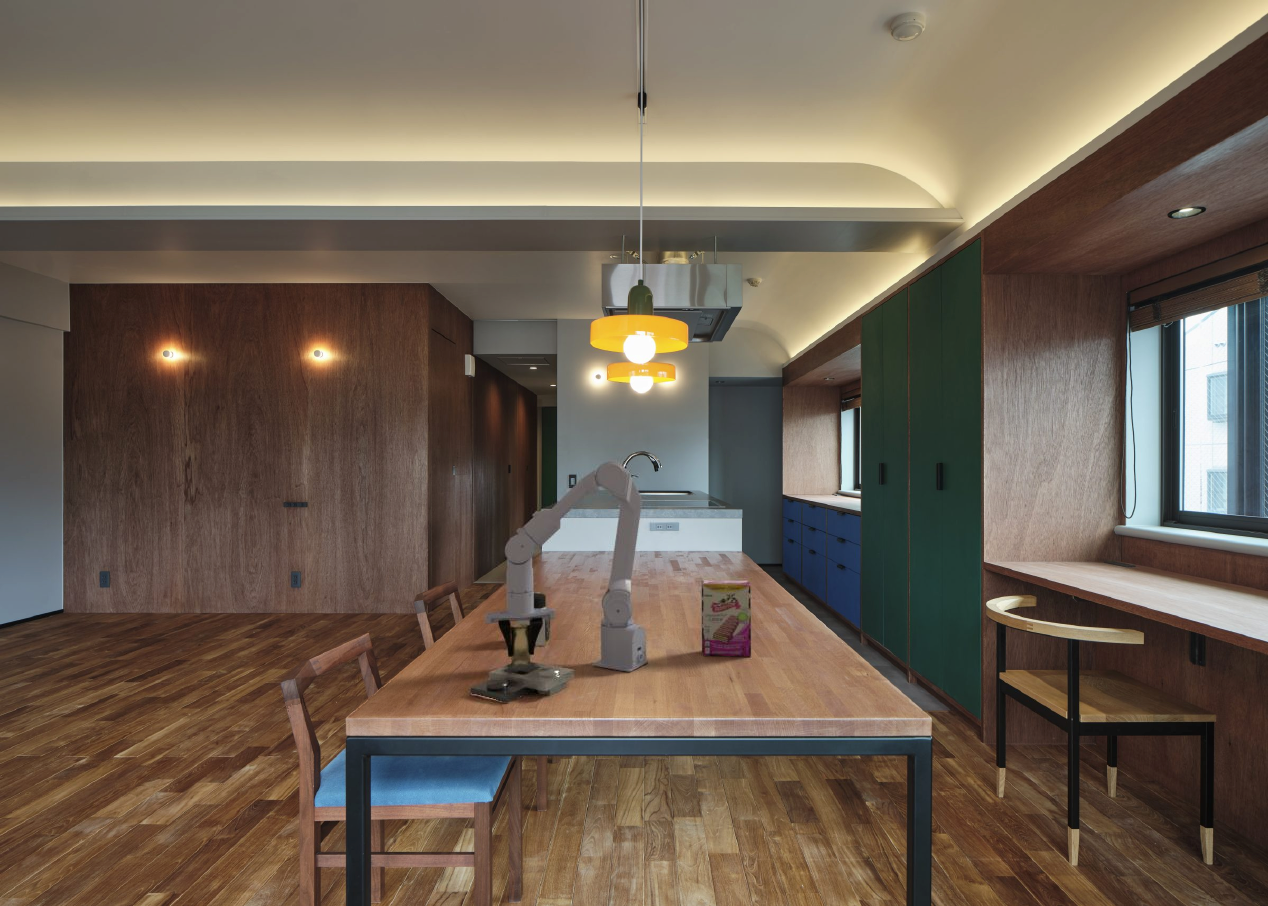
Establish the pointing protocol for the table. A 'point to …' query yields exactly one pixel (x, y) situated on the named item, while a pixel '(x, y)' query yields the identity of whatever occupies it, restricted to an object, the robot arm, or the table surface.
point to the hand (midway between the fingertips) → (520, 654)
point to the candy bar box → (726, 618)
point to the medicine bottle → (545, 630)
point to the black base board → (501, 689)
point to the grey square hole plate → (534, 676)
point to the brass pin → (520, 642)
